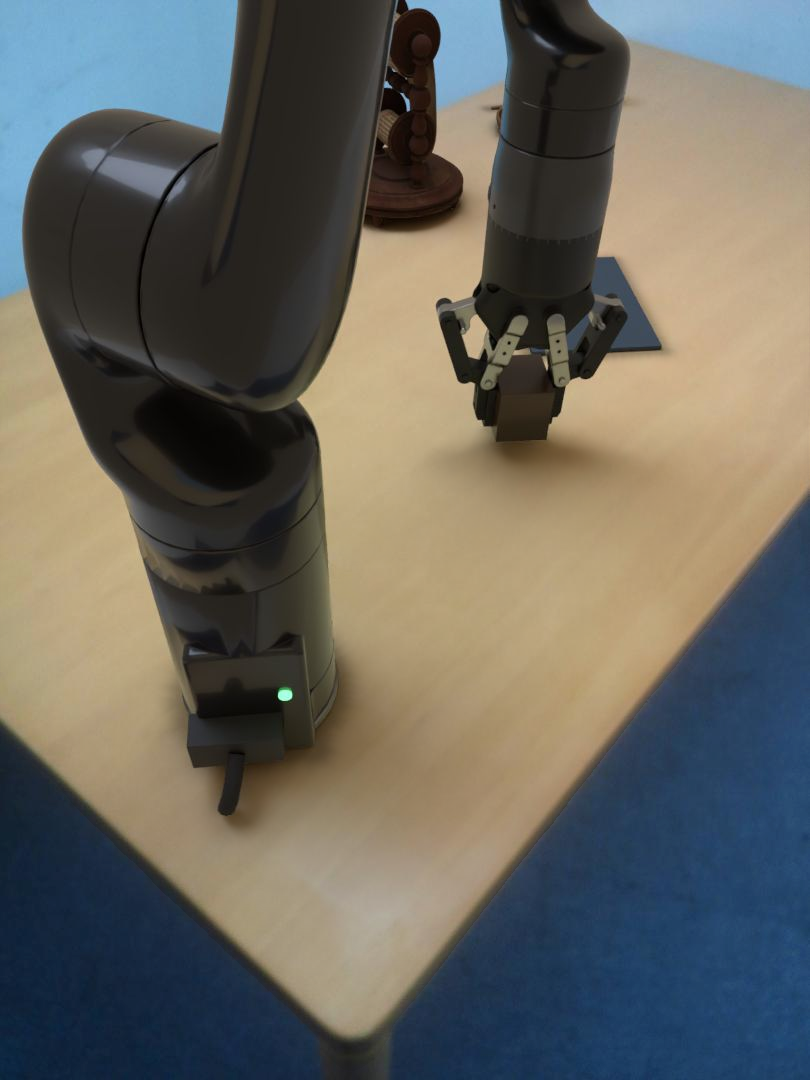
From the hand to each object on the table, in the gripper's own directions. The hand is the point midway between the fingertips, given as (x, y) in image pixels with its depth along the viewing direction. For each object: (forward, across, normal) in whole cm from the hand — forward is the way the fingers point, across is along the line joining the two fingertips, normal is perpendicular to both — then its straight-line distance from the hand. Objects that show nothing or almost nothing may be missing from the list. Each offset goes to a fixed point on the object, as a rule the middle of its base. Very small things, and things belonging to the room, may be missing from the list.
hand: (515, 418), depth 68 cm
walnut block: (0, 0, 0) cm, 0 cm away
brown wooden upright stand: (+2, -5, +42) cm, 43 cm away
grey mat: (+2, +10, +20) cm, 22 cm away
